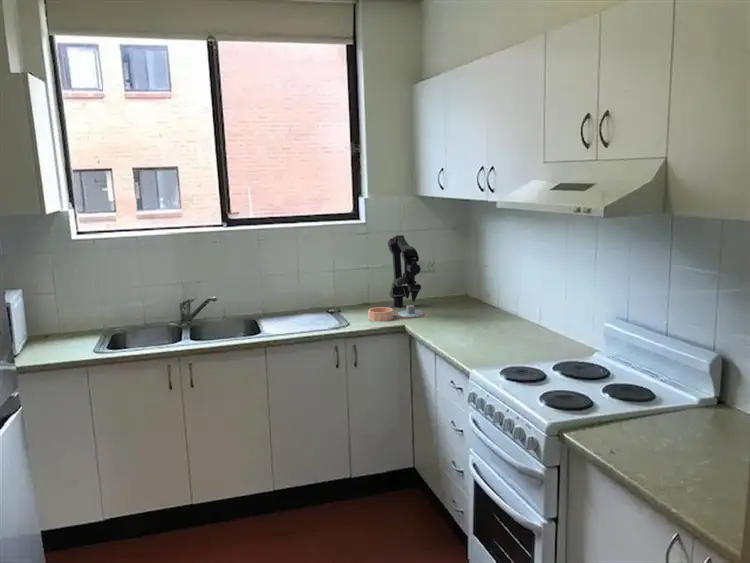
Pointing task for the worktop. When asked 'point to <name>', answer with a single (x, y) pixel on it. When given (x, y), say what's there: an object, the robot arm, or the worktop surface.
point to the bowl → (380, 314)
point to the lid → (410, 312)
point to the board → (410, 318)
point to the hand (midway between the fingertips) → (410, 300)
